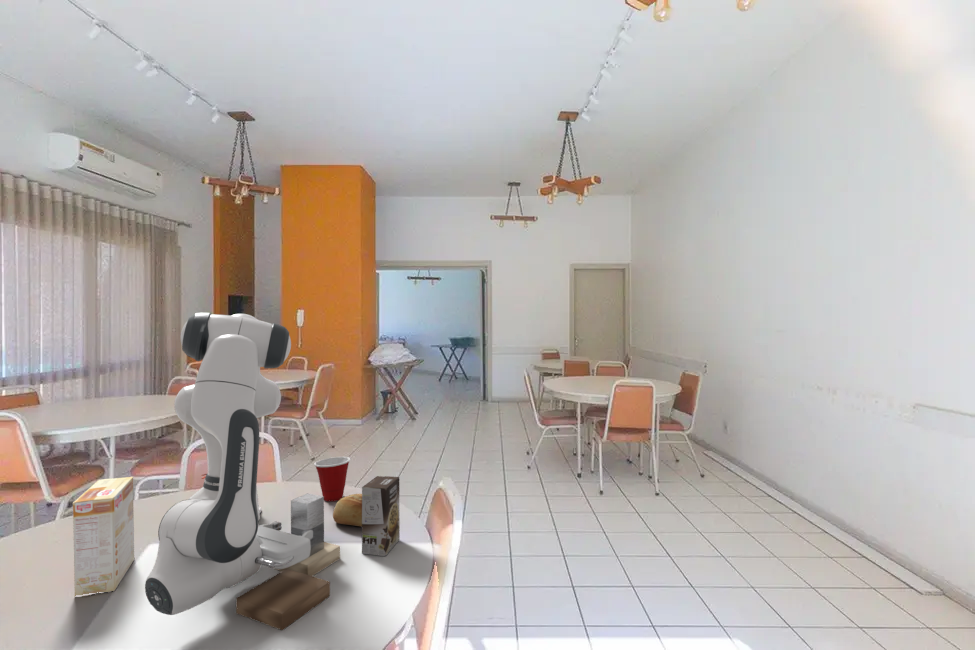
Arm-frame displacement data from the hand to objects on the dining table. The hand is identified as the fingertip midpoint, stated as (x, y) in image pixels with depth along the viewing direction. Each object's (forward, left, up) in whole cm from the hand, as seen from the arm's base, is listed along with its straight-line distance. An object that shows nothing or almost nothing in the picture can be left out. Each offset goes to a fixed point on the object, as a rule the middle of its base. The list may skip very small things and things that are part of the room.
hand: (294, 529), depth 110 cm
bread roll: (-4, +26, -10) cm, 28 cm away
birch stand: (0, +4, -9) cm, 10 cm away
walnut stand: (+8, -10, -9) cm, 16 cm away
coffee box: (+10, +18, -10) cm, 22 cm away
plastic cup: (-24, +38, -10) cm, 46 cm away
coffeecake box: (-35, -19, -10) cm, 41 cm away
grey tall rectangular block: (0, +4, -6) cm, 7 cm away
